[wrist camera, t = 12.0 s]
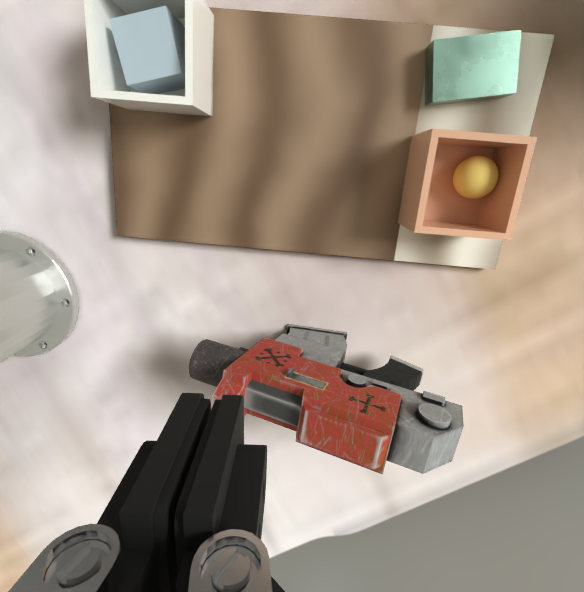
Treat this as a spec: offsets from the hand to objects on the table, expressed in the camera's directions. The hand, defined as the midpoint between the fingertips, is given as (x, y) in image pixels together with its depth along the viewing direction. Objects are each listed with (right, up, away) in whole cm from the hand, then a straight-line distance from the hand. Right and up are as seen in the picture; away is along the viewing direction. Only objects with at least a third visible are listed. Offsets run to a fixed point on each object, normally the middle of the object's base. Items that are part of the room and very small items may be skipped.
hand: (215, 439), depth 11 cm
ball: (+16, +13, +21) cm, 29 cm away
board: (+4, +17, +22) cm, 28 cm away
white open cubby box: (-8, +22, +20) cm, 31 cm away
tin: (+15, +21, +19) cm, 32 cm away
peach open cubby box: (+15, +13, +21) cm, 29 cm away
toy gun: (+5, 0, +28) cm, 28 cm away
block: (-8, +22, +19) cm, 30 cm away
